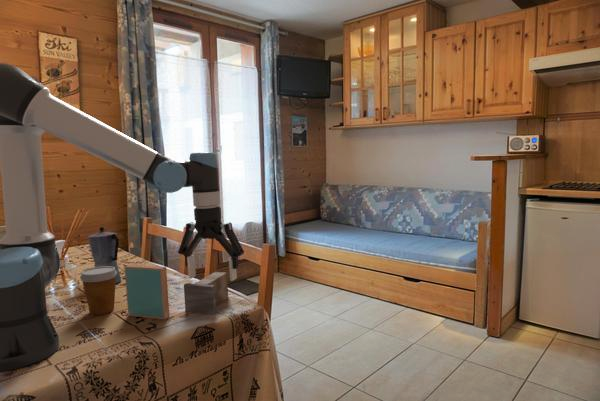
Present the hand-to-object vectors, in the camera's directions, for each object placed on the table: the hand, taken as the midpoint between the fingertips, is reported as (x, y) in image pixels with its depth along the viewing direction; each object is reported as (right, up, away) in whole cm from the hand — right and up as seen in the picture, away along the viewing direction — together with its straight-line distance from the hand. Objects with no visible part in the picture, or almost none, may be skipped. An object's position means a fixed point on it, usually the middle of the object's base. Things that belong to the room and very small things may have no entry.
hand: (212, 278), depth 117 cm
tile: (-16, -9, -7) cm, 20 cm away
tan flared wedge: (0, -8, 0) cm, 8 cm away
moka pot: (-42, -7, +24) cm, 49 cm away
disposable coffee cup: (-31, -9, -2) cm, 33 cm away
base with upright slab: (-70, -6, +41) cm, 81 cm away
